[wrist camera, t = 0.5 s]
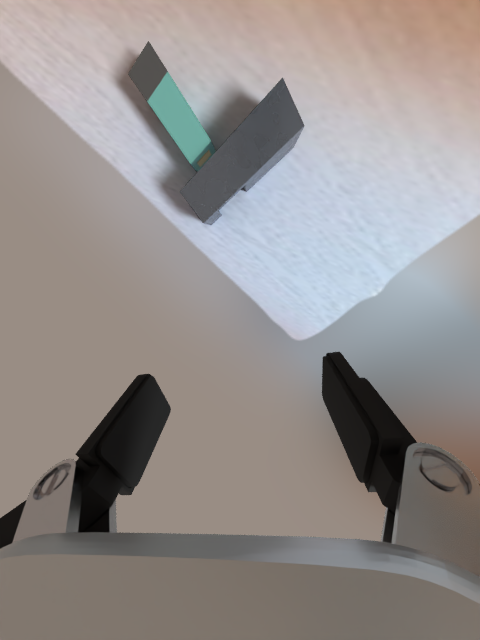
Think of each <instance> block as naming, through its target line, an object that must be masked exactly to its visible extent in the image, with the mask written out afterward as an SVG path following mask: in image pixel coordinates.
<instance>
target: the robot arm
mask: <svg viewBox="0 0 480 640" xmlns="http://www.w3.org/2000/svg"><path fill="white" fill-rule="evenodd" d="M322 375H323V376H322V377H323V378H322V396H323V400H324V402H325V405H326V407H327V409H328V411H329V414H330V416H331V419H332V421H333V423H334V425H335V428H336V430H337V432H338V435H339V437H340V439H341V442H342V444H343V446H344V448H345V451H346V453H347V455H348V458H349V460H350V462H351V465H352V467H353V469H354V471H355V474H356V476H357V478H358V480H359V481H360V482H361V483H365V486H366V488H367V490H368V492H377V493H378V496H379V498H380V499H381V502H382V504H383V505H384V506H386V511H385V517H384V523H383V530H382V536H381V542H378V541H369V540H360V539H340V538H321V537H297V536H296V537H295V536H294V537H293V536H258V535H256V536H255V535H218V534H169V533H168V534H167V533H117V529H116V528H117V526H116V501H115V500H116V497H117V495H118V493H119V494H120V495H131V494H132V492H133V490H134V488H135V486H137V485H138V483H139V481H140V479H141V477H142V475H143V472H144V470H145V468H146V466H147V464H148V461H149V459H150V457H151V455H152V452H153V450H154V448H155V446H156V443H157V441H158V438H159V436H160V434H161V432H162V430H163V428H164V425H165V423H166V421H167V419H168V416H169V414H170V410H171V409H170V406H169V404H168V402H167V400H166V398H165V396H164V395H163V393H162V391H161V389H160V387H159V385H158V384H157V382H156V380H155V378H154V377H153V376H151V375H150V374H143V375H138V376H137V377H136V378H135V379H134V381H133V382H132V383H131V385H130V386H129V387H128V388H127V390H126V391H125V392H124V393H123V395H122V396H121V397H120V398H119V400H118V401H117V402H116V404H115V405H114V406H113V407H112V409H111V410H110V411H109V412H108V414H107V415H106V416H105V417H104V419H103V420H102V421H101V423H100V424H99V425H98V426H97V428H96V429H95V430H94V431H93V433H92V434H91V435H90V437H89V438H88V439H87V440H86V442H85V443H84V444H83V445H82V447H81V448H80V449H79V450H78V452H77V453H76V455H77V456H78V457H79V459H78V460H77V461H75V460H74V459H66V460H63V461H61V462H59V463H58V464H56V465H55V466H53V467H52V468H50V469H49V470H48V471H47V472H46V473H45V474H44V475H43V476H42V477H41V478H40V479H39V480H38V481H37V482H36V484H35V485H34V486H33V488H32V489H31V491H30V493H29V495H28V498H27V500H26V501H24V502H23V503H21V504H20V505H19V506H17V507H16V508H14V509H13V510H11V511H10V512H9V513H7V514H6V515H4V516H3V517H2V518H0V640H480V484H479V482H478V480H477V479H476V478H475V476H474V474H473V473H472V471H470V469H469V468H468V467H467V466H466V465H465V464H463V463H462V461H460V460H459V459H457V458H456V457H455V456H453V455H452V454H451V453H449V452H447V451H445V450H443V449H442V448H440V447H437V446H434V445H431V444H426V443H417V442H416V440H415V439H414V438H413V437H412V436H411V434H410V433H409V432H408V430H407V429H406V428H405V427H404V425H403V424H402V423H401V422H400V420H399V419H398V418H397V416H396V415H395V414H394V413H393V411H392V410H391V409H390V408H389V406H388V405H387V404H386V403H385V401H384V400H383V399H382V398H381V397H380V395H379V394H378V392H377V391H376V390H375V389H374V387H373V386H372V385H371V384H370V382H369V381H368V380H367V379H365V378H359V377H358V376H357V374H356V373H355V371H354V370H353V369H352V367H351V366H350V365H349V363H348V362H347V361H346V359H345V358H344V356H343V355H342V354H341V353H340V352H333V353H327V354H326V356H324V357H323V374H322Z"/></svg>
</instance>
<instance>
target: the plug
mask: <svg viewBox="0 0 480 640" xmlns="http://www.w3.org/2000/svg"><path fill="white" fill-rule="evenodd" d="M128 75H129V76H130V78H131V79H132V80H133V82H134V83H135V85H136V86H137V88H138V89H139V91H140V92H141V93H142V95H143V96H144V98H145V99H146V101H147V102H148V104H149V105H150V106H151V108H152V109H153V111H154V112H155V114H156V115H157V116H158V118H159V119H160V121H161V122H162V124H163V125H164V127H165V128H166V129H167V131H168V132H169V134H170V135H171V137H172V138H173V140H174V141H175V142H176V144H177V145H178V147H179V148H180V150H181V151H182V153H183V154H184V155H185V157H186V158H187V160H188V161H189V163H190V164H191V165H192V167H193V168H194V169H195V170H196V171H197V172H198V171H199V170H200V169H201V168H202V167H203V165H204V164H205V163H206V162H207V161H208V160H209V159H210V158H211V157H212V155H213V154H214V153H215V152H216V151H215V149H214V146H213V144H212V142H211V140H210V138H209V137H208V135H207V133H206V132H205V130H204V129H203V127H202V126H201V124H200V122H199V121H198V119H197V118H196V116H195V114H194V113H193V111H192V110H191V108H190V106H189V105H188V103H187V102H186V100H185V98H184V97H183V95H182V94H181V92H180V90H179V89H178V87H177V86H176V84H175V82H174V81H173V79H172V78H171V76H170V74H169V73H168V71H167V70H166V68H165V67H164V65H163V63H162V62H161V60H160V59H159V57H158V55H157V54H156V52H155V51H154V49H153V47H152V46H151V44H150V43H149V41H148V42H147V44H146V46H145V47H144V49H143V51H142V52H141V54H140V55H139V57H138V59H137V60H136V62H135V64H134V65H133V67H132V69H131V70H130V72H129V74H128Z"/></svg>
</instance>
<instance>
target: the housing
mask: <svg viewBox="0 0 480 640" xmlns="http://www.w3.org/2000/svg"><path fill="white" fill-rule="evenodd" d="M303 128H304V124H303V122H302V119H301V117H300V115H299V113H298V110H297V108H296V106H295V104H294V102H293V99H292V97H291V95H290V93H289V90H288V88H287V86H286V84H285V82H284V79H283V78H282V79H281V80H280V81H279V82H278V83H277V84H276V86H275V87H274V88H273V89H272V90H271V91H270V92H269V93H268V94H267V96H266V97H265V98H264V99H263V100H262V101H261V102H260V103H259V104H258V106H257V107H256V108H255V109H254V110H253V111H252V112H251V113H250V114H249V116H248V117H247V118H246V119H245V120H244V121H243V122H242V123H241V124H240V126H239V127H238V128H237V129H236V130H235V131H234V132H233V133H232V134H231V136H230V137H229V138H228V139H227V140H226V141H225V142H224V143H223V144H222V145H221V147H220V148H219V149H218V150H217V151H216V152H215V153H214V154H213V155H212V157H211V158H210V159H209V160H208V161H207V162H206V163H205V164H204V165H203V167H202V168H201V169H200V170H199V171H198V172H197V173H196V174H195V175H194V177H193V178H192V179H191V180H190V181H189V182H188V183H187V184H186V185H185V187H184V188H183V189H182V190H181V191H180V193H181V194H182V195H183V197H184V198H185V199H186V201H187V202H188V203H189V205H190V206H191V207H192V209H193V210H194V211H195V213H196V214H197V215H198V217H199V218H200V219H201V221H202V222H203V223H204V224H209V225H212V224H213V223H214V222H215V221H216V220H217V219H218V218H219V217H220V216H221V214H220V212H219V210H220V209H221V208H222V207H223V206H224V205H225V204H226V203H227V202H228V201H229V200H230V199H231V198H232V197H233V196H234V195H235V194H236V193H237V192H238V191H239V190H241V189H242V188H243V187H244V189H245V191H246V192H247V191H248V190H249V189H250V188H251V187H252V186H253V185H254V184H255V183H256V182H257V181H259V180H260V179H261V178H262V177H263V176H264V175H265V174H266V173H267V172H268V171H269V170H270V169H271V168H272V167H273V166H274V165H275V164H277V163H278V162H279V161H280V160H281V159H282V158H283V157H284V156H285V155H286V154H287V153H288V152H289V151H290V150H291V149H292V148H293V147H294V146H295V144H296V142H297V140H298V138H299V136H300V134H301V132H302V130H303Z"/></svg>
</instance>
